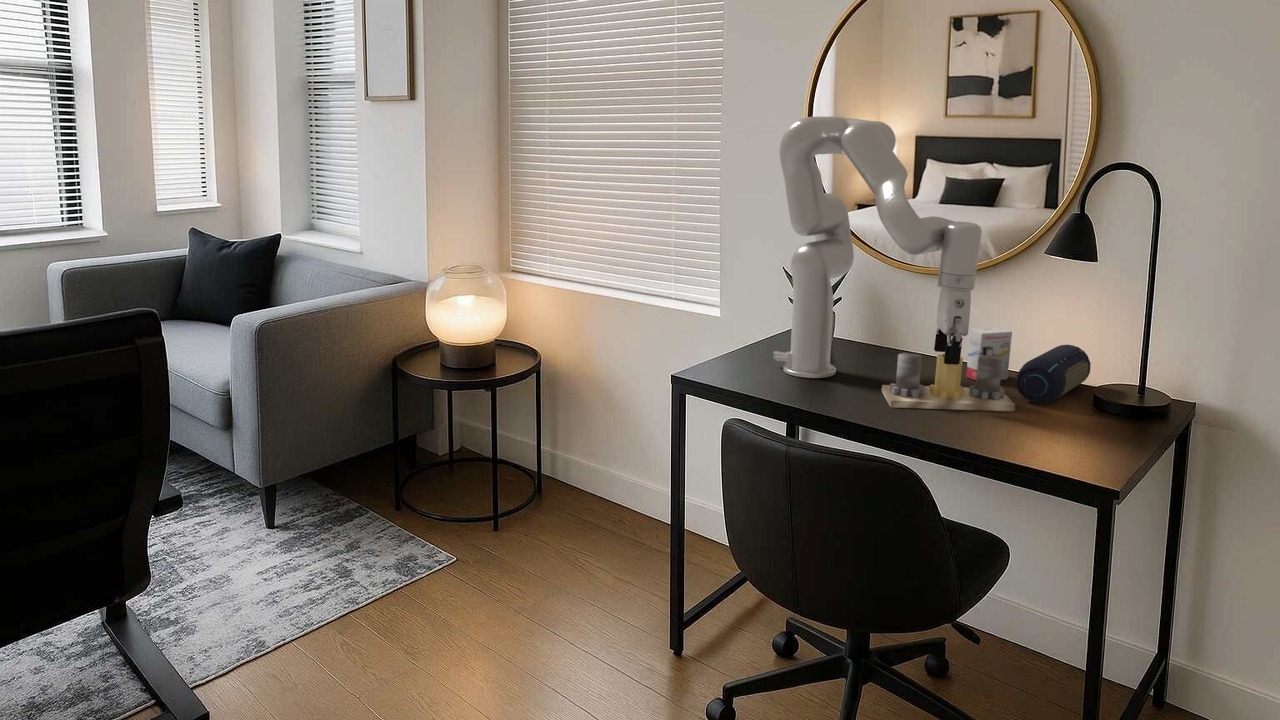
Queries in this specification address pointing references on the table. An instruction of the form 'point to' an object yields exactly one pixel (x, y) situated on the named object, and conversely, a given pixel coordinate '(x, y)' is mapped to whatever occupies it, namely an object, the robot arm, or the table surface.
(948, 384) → the gear
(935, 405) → the board
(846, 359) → the table surface
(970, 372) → the ink box
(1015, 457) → the table surface
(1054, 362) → the portable speaker
